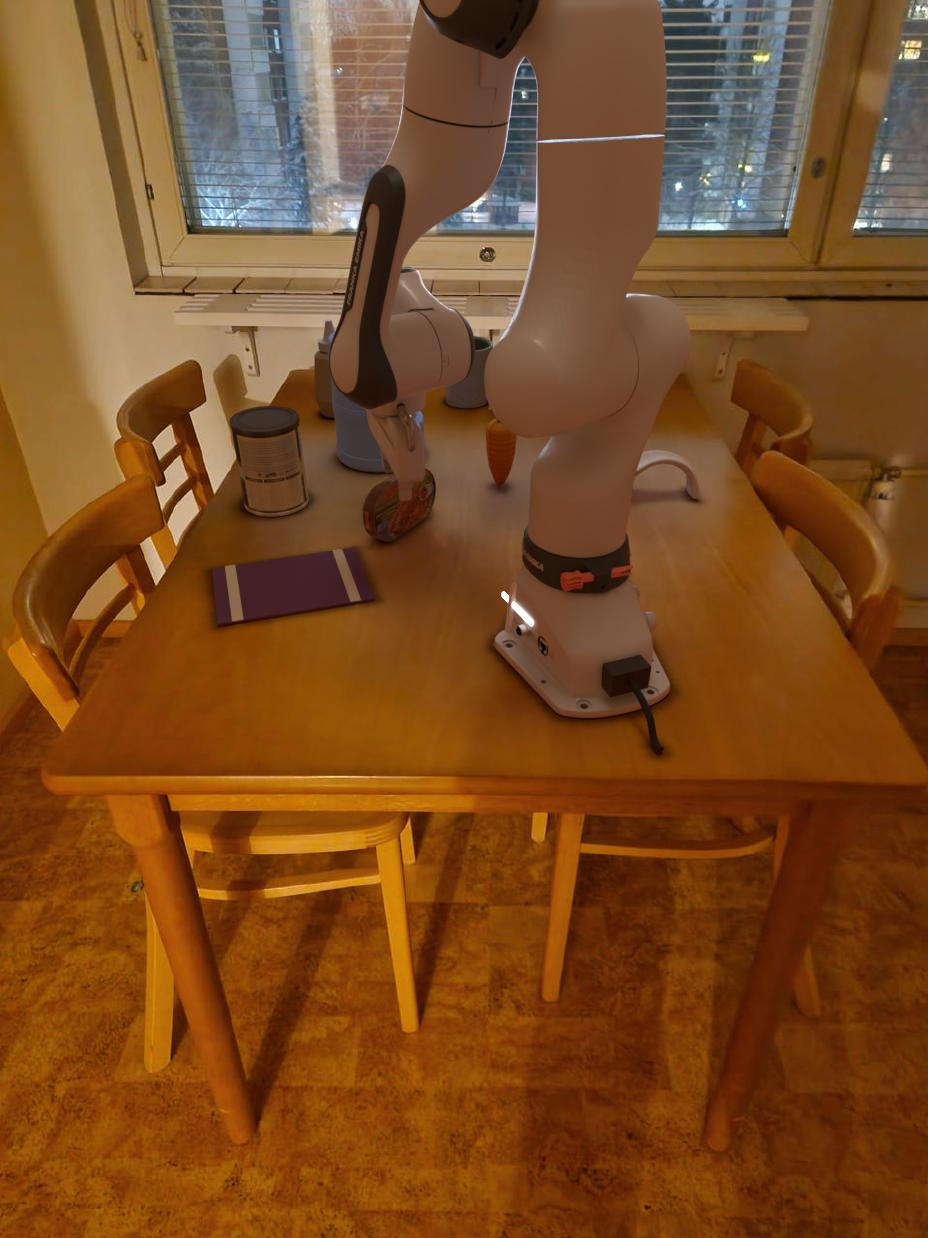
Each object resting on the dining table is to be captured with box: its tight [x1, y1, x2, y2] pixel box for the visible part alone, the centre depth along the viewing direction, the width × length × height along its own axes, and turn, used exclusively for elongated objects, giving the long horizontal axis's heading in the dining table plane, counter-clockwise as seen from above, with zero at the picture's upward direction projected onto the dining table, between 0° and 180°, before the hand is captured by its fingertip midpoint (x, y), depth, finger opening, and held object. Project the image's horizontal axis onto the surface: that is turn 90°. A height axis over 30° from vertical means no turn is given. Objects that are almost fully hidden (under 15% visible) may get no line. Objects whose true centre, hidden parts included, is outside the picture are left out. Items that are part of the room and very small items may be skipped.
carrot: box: [485, 406, 518, 488], centre depth 130 cm, size 5×5×15 cm
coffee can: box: [228, 405, 310, 518], centre depth 125 cm, size 10×10×14 cm
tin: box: [362, 467, 437, 543], centre depth 120 cm, size 15×3×8 cm, turn 146°
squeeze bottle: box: [313, 319, 336, 419], centre depth 156 cm, size 8×8×18 cm
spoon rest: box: [635, 449, 700, 500], centre depth 129 cm, size 24×12×7 cm, turn 93°
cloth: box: [211, 546, 376, 628], centre depth 109 cm, size 14×20×1 cm
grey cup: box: [444, 335, 494, 409], centre depth 164 cm, size 10×10×12 cm
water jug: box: [328, 332, 426, 473], centre depth 136 cm, size 16×16×28 cm
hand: (396, 484), depth 119 cm, fingers open, 8 cm apart
